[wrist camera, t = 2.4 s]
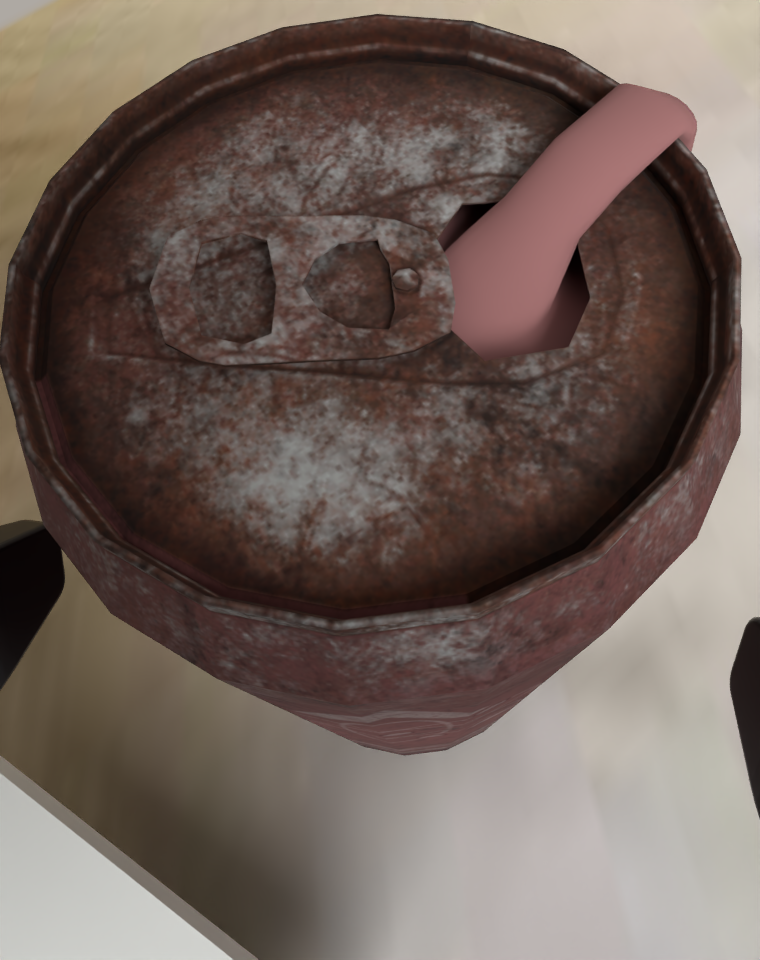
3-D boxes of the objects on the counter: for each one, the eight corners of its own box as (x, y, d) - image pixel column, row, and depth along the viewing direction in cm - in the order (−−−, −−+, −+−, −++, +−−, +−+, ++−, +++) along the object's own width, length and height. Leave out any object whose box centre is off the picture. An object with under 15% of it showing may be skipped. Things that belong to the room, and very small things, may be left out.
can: (589, 627, 18) (1015, 229, 5) (400, 812, 16) (298, 944, 4) (423, 464, 20) (413, -126, 7) (242, 618, 18) (-195, 246, 5)
